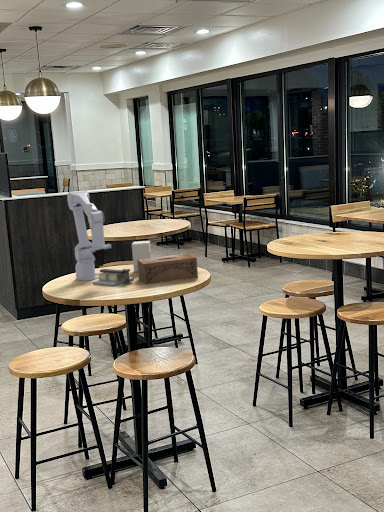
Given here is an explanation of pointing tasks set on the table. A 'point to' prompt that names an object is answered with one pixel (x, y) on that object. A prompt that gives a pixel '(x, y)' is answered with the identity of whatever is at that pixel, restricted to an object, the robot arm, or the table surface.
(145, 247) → the supplement box
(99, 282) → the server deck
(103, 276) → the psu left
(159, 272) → the tissue box cover
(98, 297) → the table surface
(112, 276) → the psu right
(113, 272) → the swing bar
